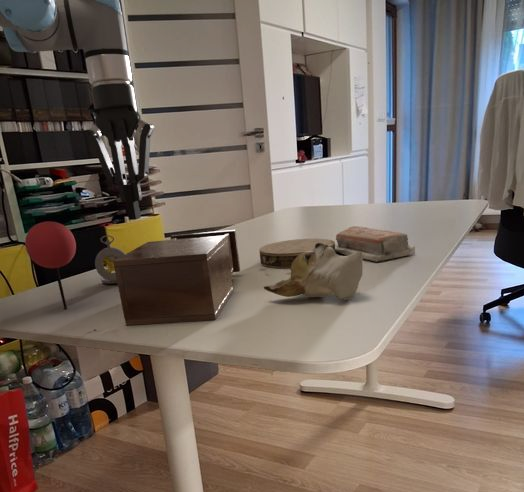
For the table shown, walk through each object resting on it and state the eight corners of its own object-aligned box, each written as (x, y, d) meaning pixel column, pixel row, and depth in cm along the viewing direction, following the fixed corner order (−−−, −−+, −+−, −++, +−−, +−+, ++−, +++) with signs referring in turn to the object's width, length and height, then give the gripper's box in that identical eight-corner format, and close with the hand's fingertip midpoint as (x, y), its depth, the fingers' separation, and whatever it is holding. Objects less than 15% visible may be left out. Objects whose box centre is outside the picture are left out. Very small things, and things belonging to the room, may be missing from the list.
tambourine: (339, 263, 103) (339, 248, 102) (259, 271, 104) (258, 256, 103) (331, 249, 118) (330, 236, 117) (261, 256, 119) (260, 243, 117)
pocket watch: (124, 276, 113) (115, 229, 110) (144, 280, 107) (135, 230, 104) (89, 284, 108) (78, 236, 105) (108, 289, 102) (97, 238, 99)
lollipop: (69, 315, 87) (47, 224, 81) (33, 315, 90) (10, 226, 84) (97, 302, 93) (79, 217, 88) (63, 302, 96) (43, 219, 91)
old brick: (417, 230, 102) (375, 238, 98) (417, 254, 104) (376, 263, 100) (363, 223, 117) (325, 229, 114) (363, 244, 119) (326, 252, 115)
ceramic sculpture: (344, 247, 71) (255, 252, 80) (350, 308, 74) (263, 306, 82) (375, 234, 79) (291, 239, 88) (379, 289, 82) (297, 289, 90)
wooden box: (157, 296, 93) (147, 241, 89) (233, 291, 91) (226, 235, 87) (125, 325, 78) (112, 261, 75) (215, 320, 76) (206, 253, 73)
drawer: (185, 268, 109) (179, 230, 106) (244, 264, 107) (240, 225, 105) (156, 294, 90) (148, 249, 88) (227, 289, 89) (221, 243, 86)
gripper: (153, 83, 96) (172, 214, 105) (86, 91, 98) (110, 218, 107) (139, 78, 89) (160, 218, 98) (68, 87, 91) (95, 224, 100)
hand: (134, 218), depth 102 cm, fingers closed
